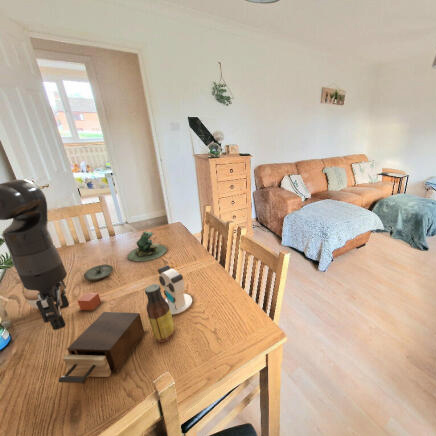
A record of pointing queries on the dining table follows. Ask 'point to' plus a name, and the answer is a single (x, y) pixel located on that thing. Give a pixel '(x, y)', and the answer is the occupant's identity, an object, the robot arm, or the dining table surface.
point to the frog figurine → (146, 249)
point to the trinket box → (33, 297)
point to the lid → (98, 272)
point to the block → (89, 301)
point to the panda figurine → (174, 290)
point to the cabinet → (111, 336)
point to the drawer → (86, 366)
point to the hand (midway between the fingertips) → (62, 317)
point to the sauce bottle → (159, 314)
